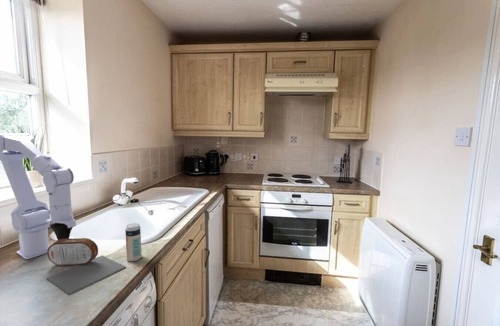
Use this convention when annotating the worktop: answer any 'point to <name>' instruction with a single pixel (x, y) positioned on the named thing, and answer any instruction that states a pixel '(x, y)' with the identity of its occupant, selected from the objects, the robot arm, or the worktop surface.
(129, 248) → the beer can
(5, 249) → the worktop surface
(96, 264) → the mat
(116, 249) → the worktop surface
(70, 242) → the tin
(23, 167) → the robot arm
